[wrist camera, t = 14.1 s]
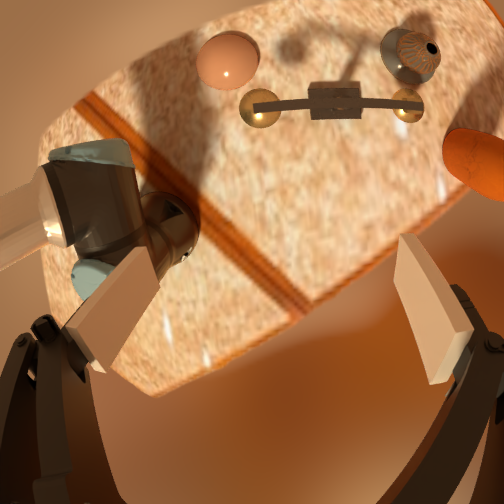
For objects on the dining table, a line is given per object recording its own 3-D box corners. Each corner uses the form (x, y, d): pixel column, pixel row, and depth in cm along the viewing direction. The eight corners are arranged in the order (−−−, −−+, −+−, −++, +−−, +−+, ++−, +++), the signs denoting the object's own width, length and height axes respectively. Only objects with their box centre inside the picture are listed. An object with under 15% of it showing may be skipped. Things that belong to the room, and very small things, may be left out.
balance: (254, 124, 42) (234, 134, 29) (250, 94, 40) (228, 89, 27) (409, 120, 37) (454, 131, 24) (407, 91, 34) (452, 89, 21)
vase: (387, 35, 30) (405, 23, 22) (424, 40, 28) (447, 30, 21) (394, 73, 33) (414, 68, 25) (430, 77, 31) (455, 74, 24)
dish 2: (384, 81, 35) (386, 81, 34) (375, 27, 30) (377, 26, 29) (436, 87, 33) (438, 87, 32) (428, 35, 28) (430, 34, 27)
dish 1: (202, 95, 41) (200, 95, 40) (194, 43, 36) (192, 42, 35) (262, 85, 39) (261, 84, 38) (253, 31, 34) (252, 29, 33)
